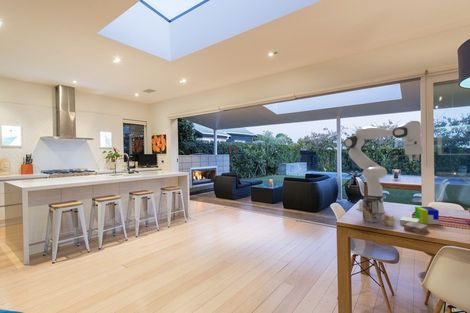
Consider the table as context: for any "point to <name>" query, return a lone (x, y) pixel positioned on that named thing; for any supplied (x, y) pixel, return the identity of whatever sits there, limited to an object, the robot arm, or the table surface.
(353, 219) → the table surface
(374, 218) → the coffee box
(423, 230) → the walnut block
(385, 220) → the oak block
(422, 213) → the puzzle toy
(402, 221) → the sage block
